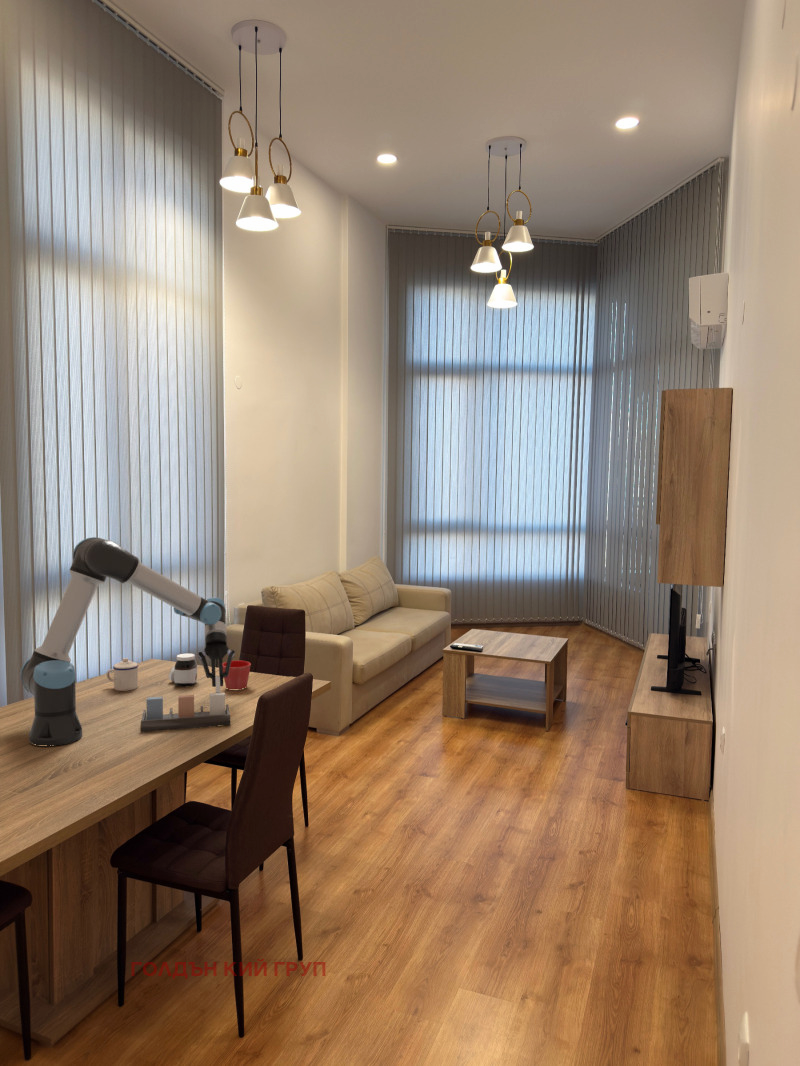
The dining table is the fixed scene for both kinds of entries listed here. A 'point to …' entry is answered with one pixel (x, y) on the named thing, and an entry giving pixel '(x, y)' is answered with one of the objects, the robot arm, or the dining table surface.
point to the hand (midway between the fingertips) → (218, 694)
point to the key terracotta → (186, 706)
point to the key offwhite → (217, 703)
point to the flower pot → (237, 674)
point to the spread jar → (184, 670)
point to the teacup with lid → (124, 675)
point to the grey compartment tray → (184, 721)
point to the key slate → (154, 708)
